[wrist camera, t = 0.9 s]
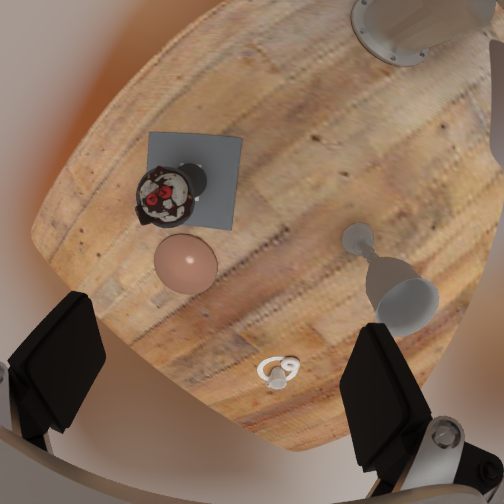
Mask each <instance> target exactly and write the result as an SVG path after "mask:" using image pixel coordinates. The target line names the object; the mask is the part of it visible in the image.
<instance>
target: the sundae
mask: <svg viewBox="0 0 504 504" xmlns="http://www.w3.org/2000/svg"><path fill="white" fill-rule="evenodd" d="M206 185H207V177H206V174H205V172H204V171H203V169H202V168H201V167H199V166H198V165H195V164H192V163H187V164H183V165H181V166H180V167H178V168H177V169H176V168H173V167H168V166H165V167H162V166H157V167H156V168H154V169H151V170H150V171H148V172H147V173H146V174H145V175H144V176H143V177H142V179H141V181H140V182H139V185H138V188H137V192H136V200H137V205H138V206H136V207H135V211H136V214H137V216H138V219H139V221H140V223H141V225H147V224H150V223H153V224H154V225H156V226H158V227H161V228H174V227H176V226H179V225H181V224H183V223H184V222H185V221H187V220H188V219H189V218H190V216H191V215H192V213H193V210H194V206H195V197H198V196H200V195H201V194H202V193H203V192H204V190H205V188H206Z"/></svg>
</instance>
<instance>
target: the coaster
mask: <svg viewBox="0 0 504 504" xmlns="http://www.w3.org/2000/svg"><path fill="white" fill-rule="evenodd" d="M154 267H155V270H156V273H157V275H158V277H159V278H160V280H161V281H162V282H163V283H164V284H165V285H166V286H167V287H168V288H170V289H172V290H173V291H175V292H178V293H181V294H188V295H192V294H198V293H201V292H203V291H205V290H206V289H208V288H209V287H210V286H211V285H212V283H213V282H214V280H215V277H216V274H217V267H218V265H217V259H216V256H215V254H214V252H213V250H212V249H211V248H210V246H209V245H208V244H207V243H205V242H204V241H203V240H201V239H200V238H198V237H196V236H193V235H189V234H176V235H172V236H170V237H168V238H166V239H165V240H164V241H163V242H162V243H161V244H160V245H159V247H158V248H157V250H156V252H155V256H154Z"/></svg>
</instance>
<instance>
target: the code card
mask: <svg viewBox="0 0 504 504" xmlns="http://www.w3.org/2000/svg"><path fill="white" fill-rule="evenodd" d="M241 146H242V138H237V137H228V136H217V135H205V134H190V133H169V132H149V143H148V158H147V172H148V171H150V170H151V169H154V168H156V167H157V166H162V167H165V166H168V167H173V168H176V169H177V168H178V167H180V166H181V165H183V164H187V163H192V164H195V165H198V166H199V167H201V168H202V169H203V171H204V172H205V174H206V177H207V185H206V188H205V190H204V192H203V193H202V194H201V195H200V196H198V197H195V206H194V210H193V213H192V215H191V216H190V218H189V219H188V220H187V221H185V222H184V223H183V224H184V225H192V226H200V227H207V228H215V229H223V230H230V231H231V230H232V221H233V212H234V203H235V194H236V186H237V178H238V170H239V161H240V153H241Z"/></svg>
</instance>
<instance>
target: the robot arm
mask: <svg viewBox="0 0 504 504" xmlns="http://www.w3.org/2000/svg"><path fill="white" fill-rule="evenodd" d="M496 1H497V2H498V3H499V5H500V6H501V7H502V8H503V9H504V0H358V1H357V2H356V4H355V5H354V7H353V9H352V13H351V21H352V26H353V29H354V31H355V33H356V35H357V37H358V39H359V40H360V41H361V43H362V44H363V45H364V46H365V47H366V48H367V49H368V50H369V51H370V52H371V53H372V54H373V55H375V56H376V57H377V58H379V59H381V60H383V61H384V62H387V63H389V64H391V65H395V66H400V67H409V66H413V65H416V64H419V63H420V62H422V61H423V60H424V59H425V58H426V57H427V55H428V53H429V50H430V47H432V46H435V45H437V44H440V43H442V42H445V41H448V40H451V39H453V38H456V37H459V36H462V35H465V34H468V33H471V32H474V31H477V30H480V29H482V28H484V27H486V26H487V25H488V24H489V23H490V21H491V20H492V18H493V15H494V12H495V6H496ZM360 32H361V33H360ZM390 58H391V59H392V60H391V59H390ZM105 360H106V353H105V350H104V347H103V344H102V340H101V336H100V333H99V329H98V325H97V322H96V317H95V313H94V309H93V305H92V301H91V299H90V298H88V295H87V294H85V293H81V292H76V291H71V292H70V293H69V294H68V295H67V296H66V297H65V298H64V299H63V300H62V301H61V302H60V303H59V304H58V305H57V306H56V307H55V308H54V309H53V310H52V311H51V312H50V313H49V314H48V315H47V316H46V318H44V319H43V320H42V321H41V322H40V324H39V325H38V326H37V327H36V328H35V329H34V330H33V331H32V332H31V333H30V335H29V336H28V337H27V338H26V339H25V340H24V341H23V342H22V344H21V345H20V346H19V347H18V348H17V349H16V351H15V352H14V353H13V354H12V355H11V357H10V358H9V359H8V363H9V364H10V367H9V369H7V367H6V365H5V364H4V363H2V362H0V504H208V503H201V502H195V501H189V500H183V499H178V498H173V497H168V496H164V495H160V494H155V493H151V492H148V491H144V490H140V489H137V488H133V487H130V486H127V485H124V484H121V483H117V482H115V481H112V480H109V479H106V478H103V477H101V476H98V475H96V474H93V473H91V472H88V471H86V470H83V469H81V468H78V467H76V466H74V465H72V464H70V463H68V462H65V461H64V460H62V459H59V458H58V457H56V456H54V454H53V450H52V447H51V444H50V439H49V435H48V429H49V427H51V428H52V429H54V430H55V431H58V432H60V433H62V434H63V433H64V431H65V429H66V428H69V427H70V425H71V424H72V422H73V419H74V418H75V416H76V414H77V412H78V410H79V408H80V406H81V404H82V402H83V400H84V399H85V397H86V395H87V393H88V391H89V389H90V387H91V386H92V384H93V382H94V380H95V379H96V377H97V375H98V373H99V372H100V370H101V368H102V366H103V365H104V363H105ZM340 392H341V396H342V400H343V404H344V408H345V412H346V416H347V420H348V424H349V429H350V433H351V437H352V442H353V446H354V450H355V455H356V460H357V463H358V465H359V466H362V468H363V472H364V473H365V472H371V471H377V475H378V479H377V480H376V482H375V484H374V486H373V487H372V488H371V490H370V492H369V493H368V495H367V496H366V498H365V499H360V500H355V501H348V502H341V503H333V504H504V475H503V474H504V468H503V464H502V462H501V460H500V459H499V458H498V457H497V456H496V455H494V454H491V453H489V452H487V451H485V450H482V449H480V448H478V447H476V446H474V445H471V444H469V443H467V442H465V440H464V439H465V434H464V430H463V428H462V426H461V425H460V424H459V422H457V420H455V419H453V418H451V417H448V416H438V417H436V418H434V419H433V418H432V416H431V411H430V408H429V406H428V404H427V402H426V400H425V398H424V396H423V394H422V392H421V390H420V388H419V386H418V384H417V382H416V380H415V378H414V376H413V374H412V372H411V370H410V368H409V366H408V364H407V362H406V360H405V359H404V357H403V355H402V353H401V351H400V349H399V347H398V346H397V344H396V342H395V340H394V338H393V337H392V335H391V333H390V331H389V330H388V328H387V326H386V325H385V323H368V324H367V325H366V327H362V328H361V330H360V333H359V336H358V338H357V341H356V344H355V346H354V349H353V351H352V354H351V356H350V359H349V361H348V363H347V366H346V368H345V370H344V373H343V375H342V377H341V380H340Z"/></svg>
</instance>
